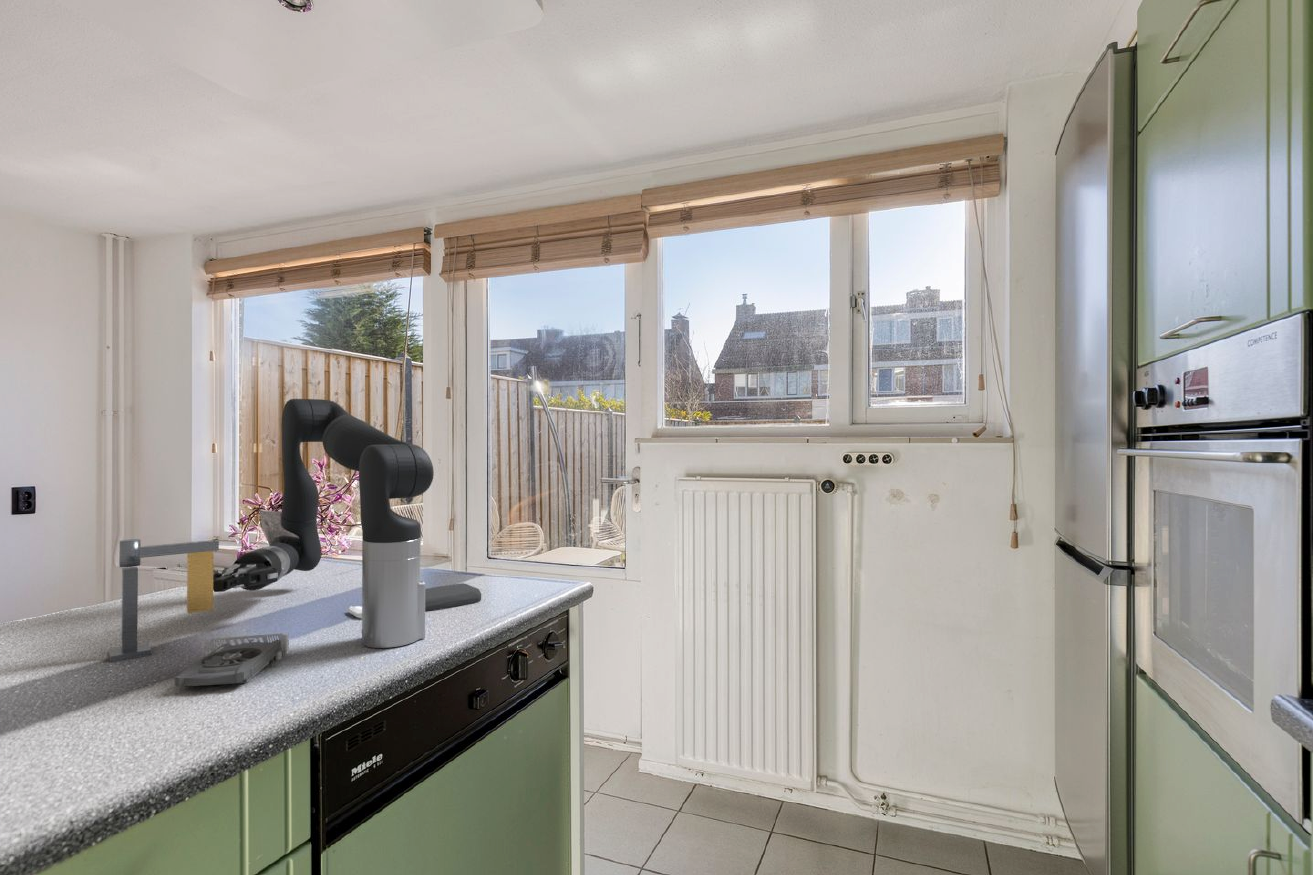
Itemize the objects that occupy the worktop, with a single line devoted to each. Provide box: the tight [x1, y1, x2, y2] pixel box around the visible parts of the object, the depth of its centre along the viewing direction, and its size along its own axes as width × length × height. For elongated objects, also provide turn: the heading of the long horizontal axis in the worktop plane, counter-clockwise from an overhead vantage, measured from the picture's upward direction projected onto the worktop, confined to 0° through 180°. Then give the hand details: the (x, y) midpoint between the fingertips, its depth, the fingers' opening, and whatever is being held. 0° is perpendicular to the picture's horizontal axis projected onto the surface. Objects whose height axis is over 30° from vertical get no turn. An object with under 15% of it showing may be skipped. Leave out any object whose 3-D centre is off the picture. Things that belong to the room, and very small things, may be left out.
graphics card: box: [174, 632, 290, 688], centre depth 96 cm, size 17×4×12 cm
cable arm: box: [118, 538, 220, 614], centre depth 107 cm, size 13×3×13 cm, turn 134°
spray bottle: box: [347, 582, 482, 619], centre depth 134 cm, size 3×11×24 cm
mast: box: [106, 566, 152, 663], centre depth 103 cm, size 5×5×14 cm
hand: (218, 586), depth 114 cm, fingers closed
